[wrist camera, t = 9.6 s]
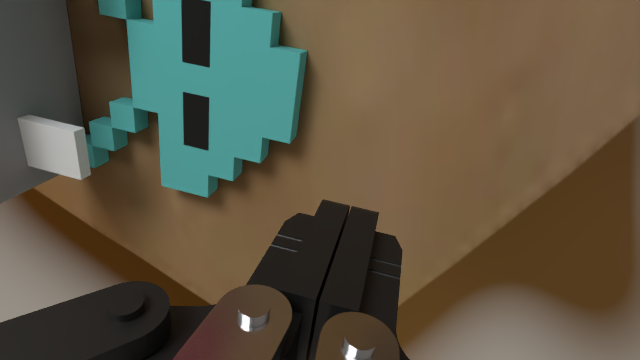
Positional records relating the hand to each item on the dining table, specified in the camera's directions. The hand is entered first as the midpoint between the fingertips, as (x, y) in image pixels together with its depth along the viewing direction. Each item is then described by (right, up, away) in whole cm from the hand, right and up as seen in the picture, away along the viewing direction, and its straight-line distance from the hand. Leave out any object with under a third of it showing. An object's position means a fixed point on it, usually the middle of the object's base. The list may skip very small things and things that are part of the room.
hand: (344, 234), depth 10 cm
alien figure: (-12, +11, +21) cm, 26 cm away
